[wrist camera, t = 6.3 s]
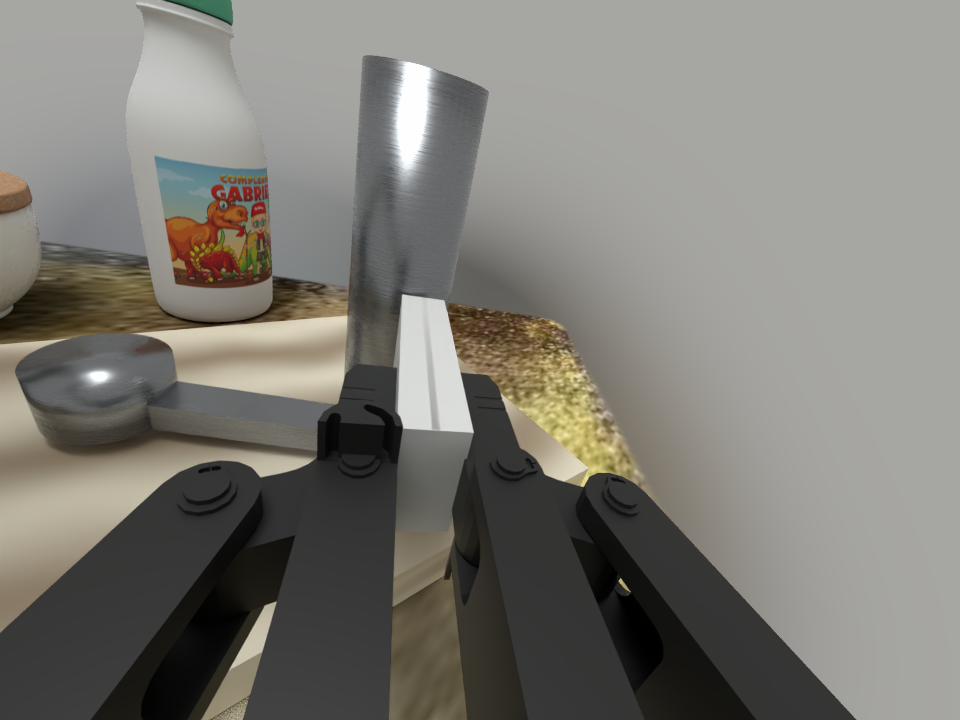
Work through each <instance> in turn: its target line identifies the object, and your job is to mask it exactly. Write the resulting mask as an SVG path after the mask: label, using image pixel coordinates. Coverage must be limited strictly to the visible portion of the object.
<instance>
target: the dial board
mask: <svg viewBox="0 0 960 720" xmlns="http://www.w3.org/2000/svg"><path fill="white" fill-rule="evenodd" d="M346 333H347V316H338V317H326V318H314V319H302V320H290V321H278V322H266V323H254V324H242V325H230V326H218V327H206V328H194V329H182V330H170V331H158V332H146V333H134V334H138V335H145V336H150V337H153V338H157V339H159V340H161V341H163V342H165V343H167V344H168V345H169V346H170V347H171V349H172V351H173V355H174V361H175V366H176V372H177V377H178V381H180V382H187V383H194V384H201V385H207V386H214V387H221V388H228V389H234V390H241V391H248V392H254V393H261V394H268V395H275V396H281V397H288V398H295V399H302V400H308V401H315V402H322V403H329V404H338V401H339V397H340V393H341V389H342V386H343V382H344V367H345V350H346ZM62 340H67V339H61V340H49V341H37V342H25V343H13V344H1V345H0V632H1V631H2V630H4V629H5V628H6V627H7V626H8V625H9V624H10V623H11V622H12V621H13V620H14V619H16V618H17V617H18V616H19V615H20V614H21V613H22V612H23V611H24V610H25V609H26V608H27V607H29V606H30V605H31V604H32V603H33V602H34V601H35V600H36V599H37V598H38V597H39V596H41V595H42V594H43V593H44V592H45V591H46V590H47V589H48V588H49V587H50V586H51V585H53V584H54V583H55V582H56V581H57V580H58V579H59V578H60V577H61V576H62V575H63V574H65V573H66V572H67V571H68V570H69V569H70V568H71V567H72V566H73V565H74V564H75V563H76V562H78V561H79V560H80V559H81V558H82V557H83V556H84V555H85V554H86V553H87V552H88V551H90V550H91V549H92V548H93V547H94V546H95V545H96V544H97V543H98V542H99V541H100V540H102V539H103V538H104V537H105V536H106V535H107V534H108V533H109V532H110V531H111V530H112V529H114V528H115V527H116V526H117V525H118V524H119V523H120V522H121V521H122V520H123V519H124V518H125V517H127V516H128V515H129V514H130V513H131V512H132V511H133V510H134V509H135V508H136V507H137V506H139V505H140V504H141V503H142V502H143V501H144V500H145V499H146V498H147V497H148V496H149V495H151V494H152V493H153V492H154V491H155V490H156V489H157V488H158V487H159V486H160V485H161V484H163V483H164V482H165V481H167V480H168V479H170V478H171V477H173V476H174V475H176V474H177V473H178V472H180V471H183V470H185V469H188V468H190V467H193V466H195V465H198V464H201V463H207V462H213V461H219V460H222V461H237V462H240V463H243V464H245V465H248V466H250V467H252V468H253V469H254V470H255V471H256V473H257V474H258V475H259V476H260V477H265V476H270V475H275V474H280V473H285V472H288V471H292V470H295V469H298V468H300V467H302V466H305V465H307V464H309V463H310V462H312V461H313V460H314V459H316V458H317V451H313V450H305V449H298V448H290V447H283V446H275V445H267V444H260V443H252V442H244V441H237V440H229V439H222V438H214V437H206V436H199V435H191V434H184V433H176V432H168V431H161V430H150V431H148V432H146V433H143V434H141V435H138V436H135V437H132V438H129V439H125V440H121V441H116V442H111V443H105V444H96V445H71V444H64V443H59V442H55V441H52V440H50V439H48V438H46V437H45V436H43V435H42V434H41V433H40V432H39V430H38V427H37V425H36V423H35V420H34V418H33V415H32V413H31V411H30V408H29V406H28V403H27V401H26V399H25V396H24V394H23V391H22V389H21V386H20V384H19V382H18V379H17V377H16V374H15V369H16V366H17V364H18V363H19V362H20V361H21V360H22V359H23V358H24V357H25V356H27V355H28V354H30V353H32V352H34V351H35V350H37V349H40V348H42V347H44V346H47V345H50V344H52V343H56V342H59V341H62ZM457 360H458V364H459V369H460V372H461V373H471V374H477V373H475V372H474V371H473V370H472V369H471V368H470V367H468V366H467V365H466V364H465V363H464V362H462V361H461V360H460V359H459V358H458V357H457ZM501 396H502V401H503V402H504V404H505V407H506V411H507V413H508V416H509V418H510V421H511V424H512V427H513V430H514V432H515V435H516V438H517V441H518V444H519V446H520V448H521V449H523V450H525V451H527V452H528V453H529V454H531V455H532V456H533V457H534V458H535V459H536V460H537V461H538V463H539V464H540V466H541V467H542V469H543V472H544V474H545V475H547V476H549V477H552V478H555V479H557V480H560V481H564V482H567V483H571V484H574V485H577V486H580V485H581V483H582V481H583V479H584V477H585V475H586V472H587V470H588V467H587V466H586V465H584V464H583V463H582V462H581V461H580V460H578V459H577V458H576V457H575V456H574V455H573V454H571V453H570V452H569V451H568V450H567V449H565V448H564V447H563V446H562V445H561V444H559V443H558V442H557V441H556V440H555V439H554V438H552V437H551V436H550V435H549V434H548V433H546V432H545V431H544V430H543V429H542V428H541V427H539V426H538V425H537V424H536V423H535V422H533V421H532V420H531V419H530V418H529V417H528V416H526V415H525V414H524V413H523V412H522V411H520V410H519V409H518V408H517V407H516V406H515V405H513V404H512V403H511V402H510V401H509V400H507V399H506V398H505V397H504V396H503V395H502V394H501ZM454 535H455V534H454V526H453V517H452V518H451V522H450V526H449V530H448V531H420V532H395V553H394V581H393V607H394V606H396V605H397V604H399V603H400V602H402V601H404V600H405V599H407V598H409V597H410V596H412V595H413V594H415V593H417V592H418V591H420V590H422V589H423V588H425V587H426V586H428V585H430V584H431V583H433V582H435V581H436V580H438V579H439V578H441V577H443V576H444V575H445V568H446V564H447V561H448V557H449V553H450V550H451V546H452V542H453V539H454ZM275 606H276V602H274V603H271V604H268V605H265V606H264V609H263V610H262V612H261V614H260V616H259V618H258V619H257V621H256V623H255V625H254V626H253V628H252V630H251V632H250V634H249V635H248V637H247V639H246V641H245V643H244V644H243V646H242V648H241V650H240V652H239V653H238V655H237V657H236V659H235V660H234V662H233V664H232V666H231V668H230V669H229V671H228V673H227V675H226V677H225V678H224V680H223V682H222V684H221V686H220V687H219V689H218V691H217V693H216V694H215V696H214V698H213V700H212V702H211V703H210V705H209V707H208V709H207V711H206V712H205V714H204V716H203V718H202V719H201V720H210V719H212V718H213V717H215V716H217V715H218V714H220V713H222V712H223V711H225V710H226V709H228V708H230V707H231V706H233V705H235V704H236V703H238V702H239V701H241V700H243V699H244V698H246V697H248V696H249V695H250V693H251V690H252V686H253V683H254V679H255V676H256V672H257V669H258V665H259V662H260V658H261V655H262V651H263V648H264V644H265V641H266V637H267V634H268V630H269V627H270V623H271V620H272V616H273V613H274V609H275Z"/></svg>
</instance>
